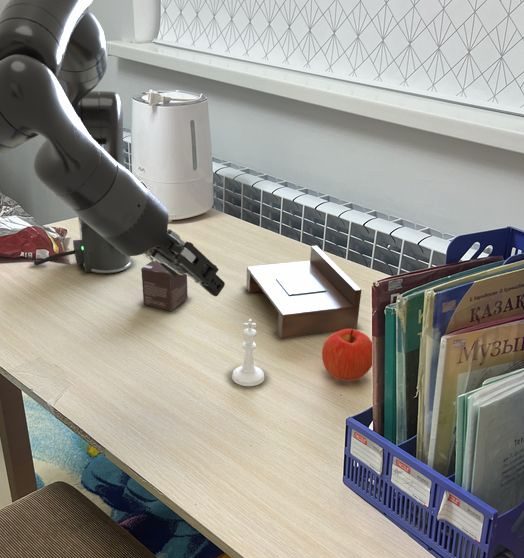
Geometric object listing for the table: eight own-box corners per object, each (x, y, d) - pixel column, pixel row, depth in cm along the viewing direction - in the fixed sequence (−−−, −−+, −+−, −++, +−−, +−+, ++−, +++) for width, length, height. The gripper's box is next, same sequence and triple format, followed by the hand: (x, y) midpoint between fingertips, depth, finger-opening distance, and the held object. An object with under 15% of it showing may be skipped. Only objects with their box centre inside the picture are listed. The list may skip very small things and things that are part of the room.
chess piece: (231, 369, 108) (232, 312, 102) (262, 368, 108) (265, 311, 103) (232, 386, 103) (234, 328, 98) (265, 386, 104) (268, 328, 99)
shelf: (281, 338, 116) (283, 298, 113) (246, 288, 133) (247, 251, 129) (356, 328, 120) (361, 289, 117) (313, 280, 137) (316, 245, 133)
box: (188, 299, 128) (188, 262, 124) (171, 312, 123) (170, 274, 119) (160, 291, 130) (159, 255, 126) (142, 304, 125) (140, 267, 121)
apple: (368, 361, 111) (374, 317, 107) (374, 389, 104) (381, 343, 100) (318, 359, 111) (322, 315, 107) (321, 387, 104) (326, 341, 100)
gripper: (175, 195, 74) (250, 272, 86) (104, 168, 83) (181, 241, 95) (135, 252, 73) (217, 322, 85) (67, 218, 82) (150, 286, 94)
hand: (198, 279), depth 90 cm, fingers open, 8 cm apart
